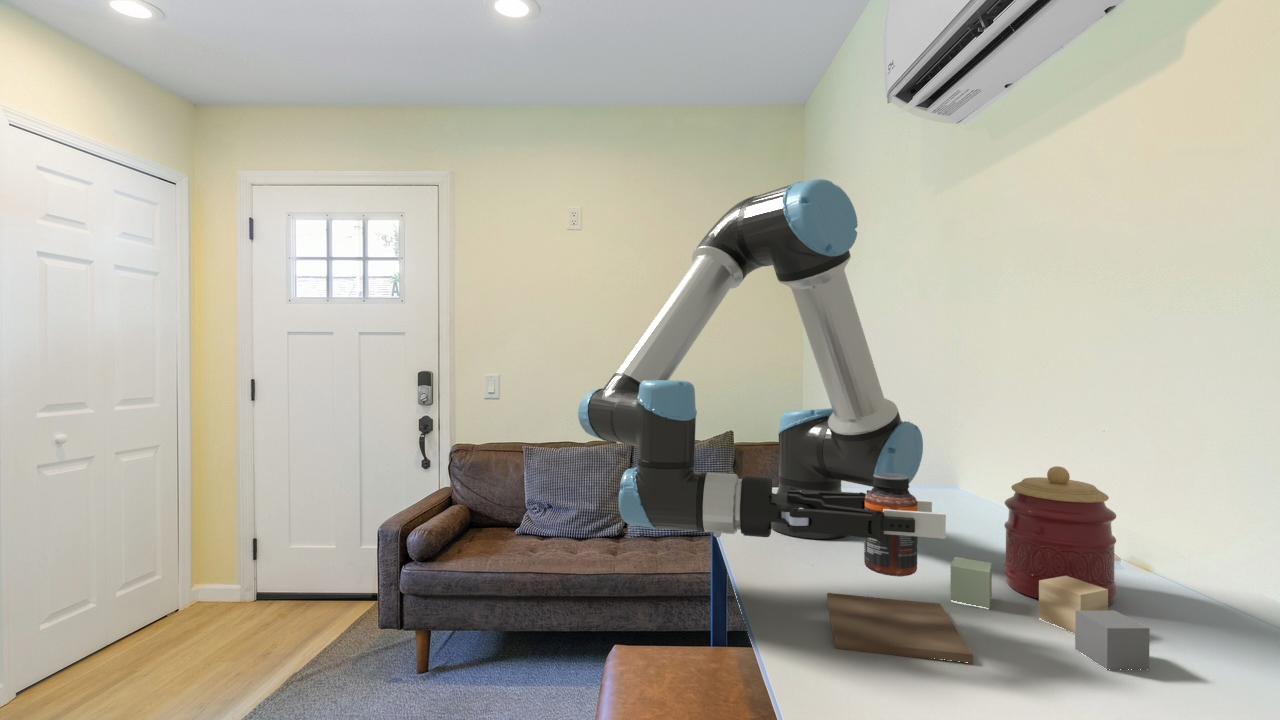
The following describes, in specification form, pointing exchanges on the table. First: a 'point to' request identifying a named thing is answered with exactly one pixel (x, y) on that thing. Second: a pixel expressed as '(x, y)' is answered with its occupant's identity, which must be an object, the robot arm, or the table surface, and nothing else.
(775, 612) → the table surface
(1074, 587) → the beech block
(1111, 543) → the canister
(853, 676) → the table surface
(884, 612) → the plate
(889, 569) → the supplement bottle
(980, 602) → the sage block
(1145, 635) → the grey block
